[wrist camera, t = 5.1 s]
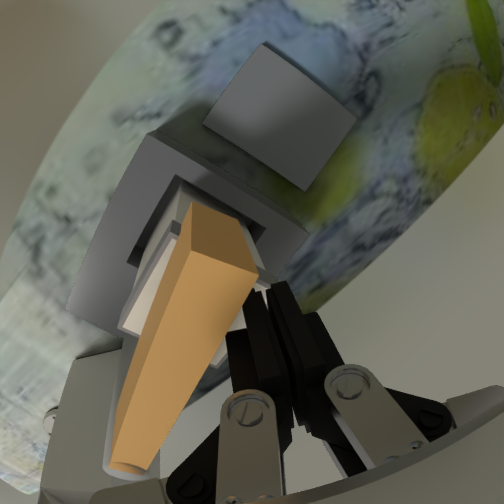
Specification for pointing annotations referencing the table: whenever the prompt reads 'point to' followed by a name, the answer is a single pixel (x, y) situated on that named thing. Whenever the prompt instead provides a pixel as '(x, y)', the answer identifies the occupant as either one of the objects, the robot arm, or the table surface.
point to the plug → (159, 256)
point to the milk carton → (83, 434)
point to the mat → (280, 117)
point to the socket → (148, 214)
